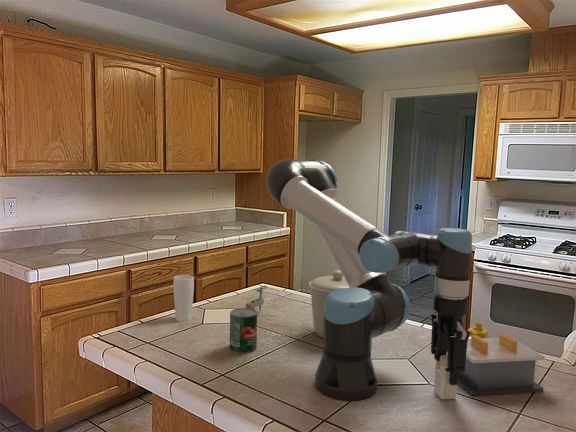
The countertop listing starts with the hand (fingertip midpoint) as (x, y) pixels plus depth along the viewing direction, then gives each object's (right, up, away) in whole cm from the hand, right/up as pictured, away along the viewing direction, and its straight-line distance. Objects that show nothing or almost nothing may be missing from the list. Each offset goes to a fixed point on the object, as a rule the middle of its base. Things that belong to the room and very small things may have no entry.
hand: (445, 391), depth 113 cm
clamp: (-48, +6, +55) cm, 74 cm away
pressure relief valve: (+20, +1, +22) cm, 30 cm away
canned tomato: (-50, +3, +25) cm, 56 cm away
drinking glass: (-73, +6, +49) cm, 88 cm away
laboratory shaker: (+15, -1, +9) cm, 17 cm away
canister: (-22, +3, +39) cm, 45 cm away
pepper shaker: (0, -1, 0) cm, 1 cm away
